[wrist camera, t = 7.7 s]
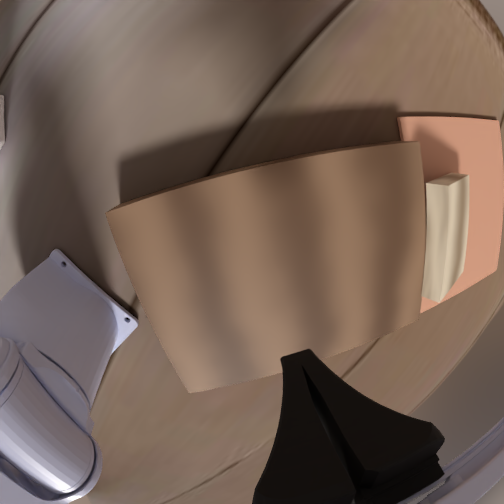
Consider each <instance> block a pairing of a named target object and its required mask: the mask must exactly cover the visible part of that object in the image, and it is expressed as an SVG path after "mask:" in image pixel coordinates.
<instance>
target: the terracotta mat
mask: <svg viewBox="0 0 504 504" xmlns="http://www.w3.org/2000/svg"><path fill="white" fill-rule="evenodd" d="M397 121H398V127H399V132H400V138H401V141H419V142H420V149H421V157H422V166H423V177H424V191H425V213H426V231H427V197H426V183H427V182H430V181H432V180H435V179H437V178H439V177H442V176H444V175H447V174H449V173H460V174H468V175H469V223H468V237H467V247H466V256H465V263H464V270H463V272H462V274H461V275H460V277H459V278H458V279H457V281H456V282H455V283H454V285H453V286H452V288H451V289H450V290H449V291H448V293H447V294H446V295H445V297H444V298H443V299H442V300H441V302H443V301H445V300H447V299H449V298H451V297H453V296H454V295H456V294H458V293H460V292H461V291H463V290H465V289H467V288H468V287H470V286H472V285H473V284H475V283H477V282H478V281H480V280H482V279H483V278H485V277H486V276H488V275H490V274H491V273H493V272H494V271H496V270H497V264H498V257H499V250H500V243H501V233H502V222H503V202H504V173H503V154H502V143H501V134H500V126H499V121H497V120H487V119H476V118H461V117H397ZM425 253H426V246H425ZM441 302H440V303H441ZM440 303H438V302H435V301H433V300H430V299H427V298H425V297H422V302H421V310H420V313H422V312H424V311H426V310H428V309H430V308H432V307H434V306H436V305H438V304H440Z"/></svg>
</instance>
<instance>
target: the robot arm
mask: <svg viewBox="0 0 504 504" xmlns="http://www.w3.org/2000/svg"><path fill="white" fill-rule="evenodd" d="M63 261H64V262H65V263H66V265H64V262H63ZM126 317H128V318H129V319H130V320H127V319H126ZM137 326H138V319H137V318H135V317H134V316H133V315H132V314H130V313H129V312H128V311H127V310H125V309H124V308H123V307H122V306H121V305H119V304H118V303H117V302H116V301H114V300H113V299H112V298H111V297H110V296H109V295H107V294H106V293H105V292H104V291H103V290H102V289H100V288H99V287H98V286H97V285H96V284H95V283H94V282H93V281H92V280H90V279H89V278H88V277H87V276H86V275H85V274H84V273H83V272H82V271H81V270H80V269H79V268H77V267H76V266H75V265H74V264H73V263H72V262H71V261H70V260H69V259H68V258H67V257H66V256H65V255H64V254H63V253H62V252H61V251H60V250H59V249H54V250H53V251H52V252H51V254H50V256H49V257H48V258H47V259H46V260H44V261H43V262H42V263H41V264H39V265H38V266H37V267H36V268H34V269H33V270H32V271H31V272H30V273H28V274H27V275H26V276H25V277H24V278H22V279H21V280H20V281H19V282H18V283H16V284H15V285H14V286H13V287H12V288H11V289H10V290H9V291H8V292H7V293H6V295H5V296H4V297H3V298H2V300H1V301H0V504H68V503H70V502H71V501H73V500H76V499H78V498H80V497H83V496H84V495H86V494H87V493H88V492H89V491H90V490H91V489H92V488H93V487H94V486H95V484H96V483H97V481H98V479H99V477H100V474H101V470H102V460H103V459H102V453H101V449H100V447H99V445H98V443H97V442H96V440H95V439H94V438H93V437H92V436H91V433H92V429H93V426H94V422H93V420H92V419H91V418H90V410H91V407H92V404H93V401H94V398H95V395H96V392H97V390H98V387H99V384H100V381H101V379H102V376H103V373H104V371H105V368H106V365H107V363H108V360H109V358H110V355H111V354H112V353H113V352H114V351H115V350H116V349H117V347H118V346H119V345H120V344H121V343H122V342H123V341H124V340H125V339H126V338H127V337H128V336H129V335H130V334H131V333H132V332H133V331H134V330H135V328H136V327H137ZM280 361H281V365H282V371H283V397H282V406H281V414H280V420H279V425H278V429H277V433H276V437H275V441H274V444H273V448H272V451H271V453H270V456H269V459H268V461H267V464H266V467H265V469H264V471H263V473H262V476H261V478H260V480H259V482H258V484H257V486H256V488H255V492H254V496H253V501H252V504H407V503H409V502H411V501H412V500H414V499H416V498H418V497H420V496H421V495H423V494H425V493H426V492H428V491H429V490H431V489H433V488H434V487H436V486H437V485H439V484H440V483H442V482H443V481H445V480H446V481H445V484H443V485H442V486H440V487H439V488H438V489H436V490H435V491H433V492H432V493H430V494H429V495H427V497H426V498H425V499H423V500H422V501H420V502H419V503H417V504H474V503H475V502H476V501H478V500H479V499H480V498H481V497H482V496H483V495H484V494H485V493H486V492H488V491H489V490H490V489H491V488H492V487H493V486H494V485H495V484H496V483H497V482H498V481H499V480H500V479H501V478H502V477H503V476H504V417H503V418H502V419H501V420H500V421H499V422H498V423H497V424H496V425H495V426H493V428H491V429H490V430H489V431H488V432H487V433H486V434H485V435H483V436H482V437H481V438H480V439H479V440H478V441H476V442H475V443H474V444H473V445H471V446H470V447H469V448H468V449H467V450H465V451H464V452H463V453H461V454H460V455H459V456H458V457H456V458H455V459H453V460H452V461H450V462H449V463H447V464H446V465H445V466H443V467H442V468H441V467H440V465H439V464H438V461H439V458H438V456H437V455H436V453H437V451H438V450H439V449H440V447H441V446H442V445H443V443H444V440H445V438H444V436H443V435H442V434H441V432H440V431H439V430H438V429H437V428H436V427H435V426H434V425H433V424H432V423H431V422H426V421H423V420H419V419H415V418H412V417H409V416H406V415H404V414H401V413H398V412H396V411H394V410H391V409H389V408H387V407H385V406H382V405H380V404H378V403H377V402H375V401H373V400H371V399H369V398H368V397H366V396H364V395H363V394H361V393H360V392H358V391H357V390H355V389H354V388H352V387H351V386H350V385H348V384H347V383H346V382H344V381H343V380H342V379H341V378H339V377H338V376H337V375H336V374H335V373H334V372H332V371H331V370H330V369H329V368H328V367H327V366H326V365H325V364H324V363H323V362H322V361H321V360H320V359H319V358H318V357H317V356H316V355H315V354H314V352H313V351H312V350H311V349H306V350H303V351H299V352H296V353H293V354H289V355H286V356H283V357H281V359H280Z"/></svg>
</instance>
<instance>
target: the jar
mask: <svg viewBox="0 0 504 504" xmlns="http://www.w3.org/2000/svg"><path fill="white" fill-rule="evenodd" d="M4 143H5V127H4V95H0V149H1V148H2V146H3V145H4Z"/></svg>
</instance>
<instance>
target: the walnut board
mask: <svg viewBox="0 0 504 504" xmlns="http://www.w3.org/2000/svg"><path fill="white" fill-rule="evenodd" d="M105 214H106V217H107V220H108V223H109V226H110V229H111V231H112V234H113V237H114V240H115V243H116V245H117V248H118V250H119V253H120V256H121V258H122V261H123V263H124V266H125V268H126V271H127V273H128V275H129V278H130V280H131V283H132V285H133V287H134V289H135V292H136V294H137V296H138V298H139V301H140V303H141V305H142V307H143V309H144V311H145V313H146V315H147V318H148V320H149V322H150V324H151V326H152V328H153V330H154V332H155V334H156V336H157V338H158V339H159V341H160V343H161V345H162V347H163V349H164V351H165V353H166V355H167V356H168V358H169V360H170V362H171V364H172V365H173V367H174V369H175V371H176V372H177V374H178V376H179V377H180V379H181V381H182V383H183V384H184V386H185V387H186V389H187V391H188V392H189V393H194V392H200V391H205V390H210V389H215V388H220V387H225V386H230V385H234V384H239V383H243V382H247V381H251V380H255V379H259V378H263V377H267V376H270V375H274V374H278V373H281V372H283V371H282V365H281V361H280V359H281V357H283V356H286V355H289V354H293V353H296V352H299V351H303V350H306V349H311V350H312V351H313V352H314V354H315V355H316V356H317V357H318V358H319V359H320V360H323V359H325V358H328V357H331V356H334V355H337V354H339V353H342V352H345V351H348V350H350V349H353V348H355V347H358V346H360V345H363V344H365V343H368V342H370V341H373V340H375V339H377V338H380V337H382V336H384V335H387V334H389V333H391V332H393V331H396V330H398V329H400V328H402V327H404V326H406V325H409V324H411V323H413V322H415V321H417V320H419V317H420V310H421V302H422V296H421V294H422V286H423V277H424V266H425V246H426V213H425V191H424V177H423V166H422V157H421V149H420V142H419V141H390V142H381V143H373V144H365V145H358V146H351V147H344V148H337V149H331V150H325V151H319V152H314V153H308V154H303V155H298V156H292V157H287V158H283V159H278V160H273V161H269V162H264V163H260V164H255V165H251V166H247V167H243V168H238V169H234V170H230V171H227V172H223V173H219V174H215V175H211V176H208V177H204V178H200V179H197V180H193V181H190V182H187V183H183V184H180V185H176V186H173V187H170V188H167V189H164V190H160V191H157V192H154V193H151V194H148V195H145V196H142V197H139V198H136V199H133V200H130V201H128V202H125V203H122V204H120V205H118V206H116V207H114V208H113V209H111V210H109V211H108V212H106V213H105Z"/></svg>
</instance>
